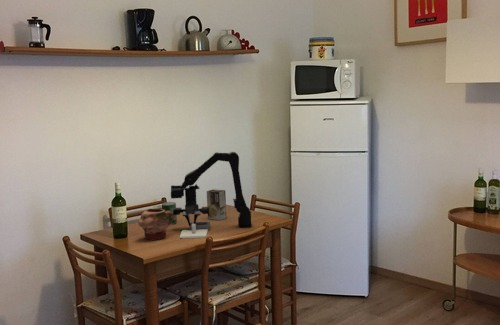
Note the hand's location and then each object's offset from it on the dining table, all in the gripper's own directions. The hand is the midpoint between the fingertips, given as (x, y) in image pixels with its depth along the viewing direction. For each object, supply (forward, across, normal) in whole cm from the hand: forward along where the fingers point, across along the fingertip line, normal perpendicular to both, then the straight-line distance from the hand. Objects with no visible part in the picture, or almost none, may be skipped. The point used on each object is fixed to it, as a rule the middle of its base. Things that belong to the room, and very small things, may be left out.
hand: (192, 226), depth 290 cm
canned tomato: (+1, -14, +15) cm, 20 cm away
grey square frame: (+1, +4, 0) cm, 4 cm away
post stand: (+1, +2, -13) cm, 13 cm away
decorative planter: (+1, -16, -15) cm, 22 cm away
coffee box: (+1, +12, +22) cm, 25 cm away
